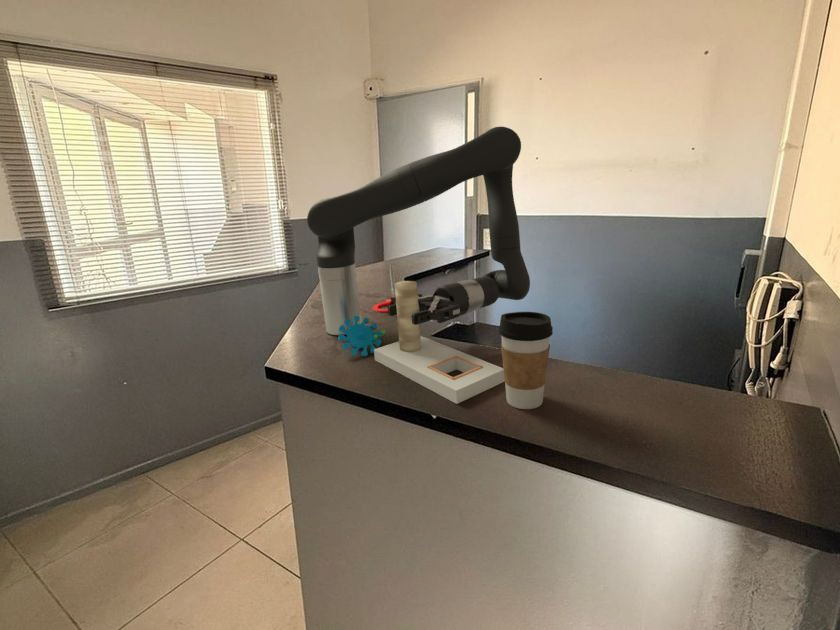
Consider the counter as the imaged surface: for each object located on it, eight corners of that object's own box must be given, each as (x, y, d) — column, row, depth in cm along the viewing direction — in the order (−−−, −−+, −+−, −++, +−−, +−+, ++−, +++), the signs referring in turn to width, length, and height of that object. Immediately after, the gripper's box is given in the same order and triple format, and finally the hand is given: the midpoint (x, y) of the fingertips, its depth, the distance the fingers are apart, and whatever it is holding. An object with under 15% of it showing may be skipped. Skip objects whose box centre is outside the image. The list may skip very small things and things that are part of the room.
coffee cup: (489, 396, 76) (488, 313, 71) (529, 384, 79) (531, 305, 74) (518, 418, 68) (519, 328, 64) (561, 405, 71) (565, 318, 67)
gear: (343, 355, 93) (335, 315, 97) (337, 367, 97) (330, 328, 102) (391, 351, 97) (382, 313, 102) (384, 362, 102) (375, 325, 107)
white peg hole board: (374, 360, 94) (373, 348, 93) (419, 345, 100) (418, 334, 100) (456, 404, 74) (456, 389, 73) (504, 381, 81) (504, 368, 80)
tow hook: (390, 315, 125) (408, 305, 132) (384, 272, 120) (403, 263, 128) (367, 312, 129) (386, 302, 136) (361, 270, 125) (381, 262, 132)
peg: (395, 347, 93) (390, 284, 89) (412, 342, 95) (408, 279, 91) (408, 353, 89) (403, 287, 85) (425, 347, 92) (421, 283, 88)
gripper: (437, 277, 103) (379, 291, 93) (481, 287, 92) (420, 304, 82) (439, 308, 105) (382, 324, 96) (482, 321, 94) (422, 341, 85)
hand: (400, 315), depth 89 cm, fingers open, 8 cm apart
